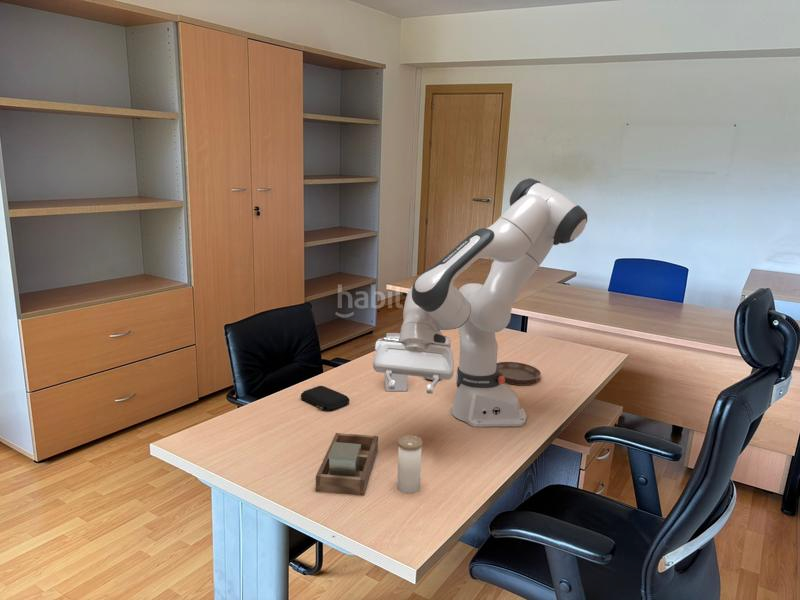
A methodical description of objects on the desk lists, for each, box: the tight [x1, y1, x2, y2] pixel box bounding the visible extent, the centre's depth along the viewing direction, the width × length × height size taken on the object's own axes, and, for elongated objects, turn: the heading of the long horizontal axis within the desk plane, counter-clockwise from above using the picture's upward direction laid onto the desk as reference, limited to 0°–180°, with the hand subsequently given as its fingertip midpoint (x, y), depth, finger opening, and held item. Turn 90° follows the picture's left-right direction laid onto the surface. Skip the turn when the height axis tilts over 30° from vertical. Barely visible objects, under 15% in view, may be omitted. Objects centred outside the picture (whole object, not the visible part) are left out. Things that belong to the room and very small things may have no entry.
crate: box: [315, 432, 379, 496], centre depth 137 cm, size 11×21×5 cm, turn 174°
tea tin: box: [328, 442, 361, 477], centre depth 132 cm, size 6×6×8 cm
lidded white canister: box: [396, 434, 423, 494], centre depth 130 cm, size 5×5×13 cm
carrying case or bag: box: [300, 385, 350, 412], centre depth 178 cm, size 11×3×15 cm
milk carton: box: [384, 332, 409, 392], centre depth 189 cm, size 7×7×19 cm
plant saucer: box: [496, 361, 541, 386], centre depth 203 cm, size 18×18×3 cm
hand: (410, 390), depth 139 cm, fingers open, 8 cm apart
